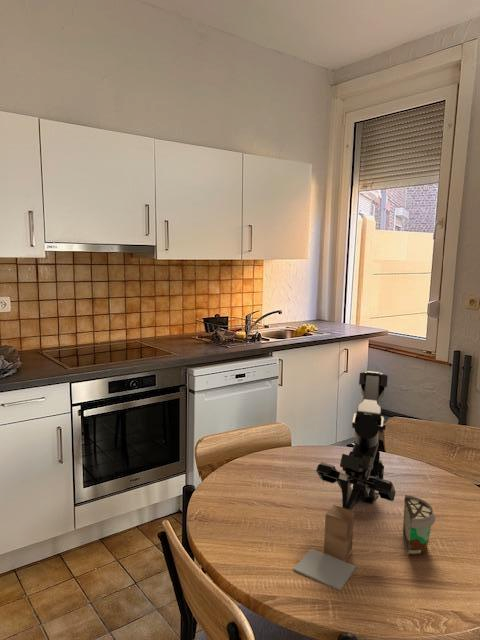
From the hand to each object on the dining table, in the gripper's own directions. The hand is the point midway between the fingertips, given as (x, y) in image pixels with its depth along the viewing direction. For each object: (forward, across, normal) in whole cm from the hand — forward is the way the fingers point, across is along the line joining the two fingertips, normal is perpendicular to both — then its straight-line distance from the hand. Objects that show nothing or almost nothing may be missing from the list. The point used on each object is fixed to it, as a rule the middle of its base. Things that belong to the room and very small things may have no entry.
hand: (344, 514), depth 112 cm
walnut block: (+8, 0, +4) cm, 9 cm away
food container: (-2, +15, +14) cm, 21 cm away
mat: (+13, 0, -1) cm, 13 cm away
